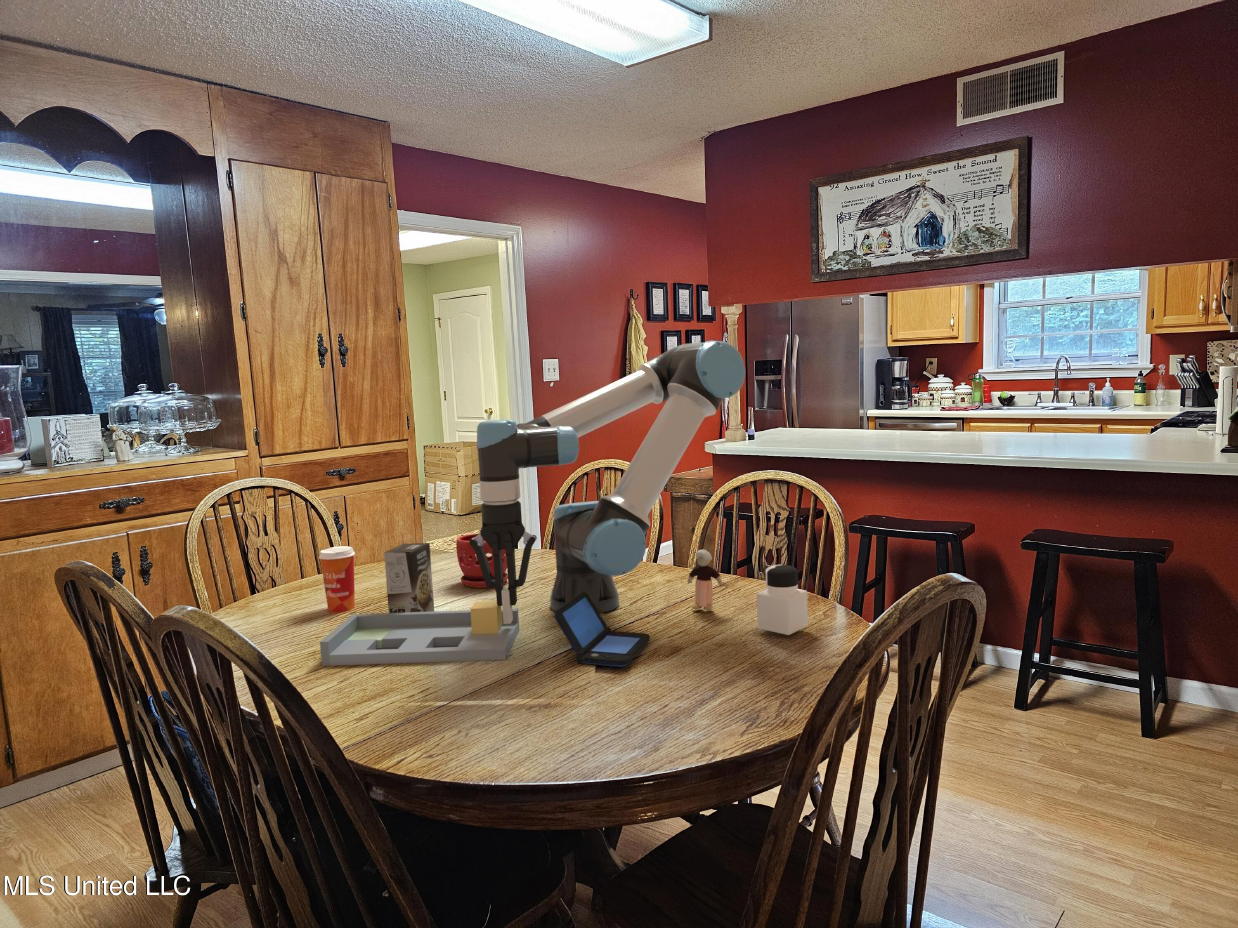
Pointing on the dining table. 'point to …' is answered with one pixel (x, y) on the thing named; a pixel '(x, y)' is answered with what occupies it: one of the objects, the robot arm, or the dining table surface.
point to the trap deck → (415, 639)
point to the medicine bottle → (782, 602)
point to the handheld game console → (596, 635)
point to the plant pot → (475, 562)
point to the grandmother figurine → (704, 581)
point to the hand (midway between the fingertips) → (508, 621)
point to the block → (486, 617)
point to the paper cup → (338, 578)
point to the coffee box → (409, 578)
